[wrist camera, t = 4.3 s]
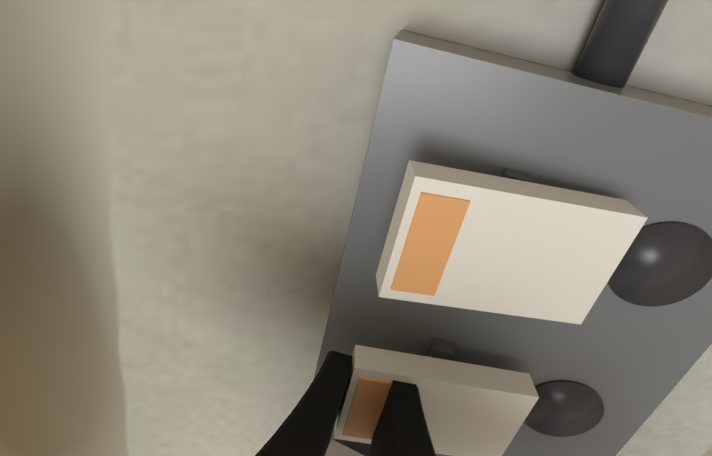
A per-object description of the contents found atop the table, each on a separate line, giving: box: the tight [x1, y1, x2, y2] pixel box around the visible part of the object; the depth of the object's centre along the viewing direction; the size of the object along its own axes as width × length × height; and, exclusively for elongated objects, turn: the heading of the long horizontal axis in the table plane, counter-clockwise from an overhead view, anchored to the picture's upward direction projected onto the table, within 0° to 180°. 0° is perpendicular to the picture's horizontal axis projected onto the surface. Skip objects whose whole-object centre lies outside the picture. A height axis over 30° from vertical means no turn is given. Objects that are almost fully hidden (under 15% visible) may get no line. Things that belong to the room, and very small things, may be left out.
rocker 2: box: [334, 345, 539, 456], centre depth 12 cm, size 3×5×1 cm, turn 78°
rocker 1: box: [376, 160, 648, 325], centre depth 10 cm, size 3×5×1 cm, turn 78°
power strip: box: [314, 0, 712, 456], centre depth 13 cm, size 25×10×3 cm, turn 168°
